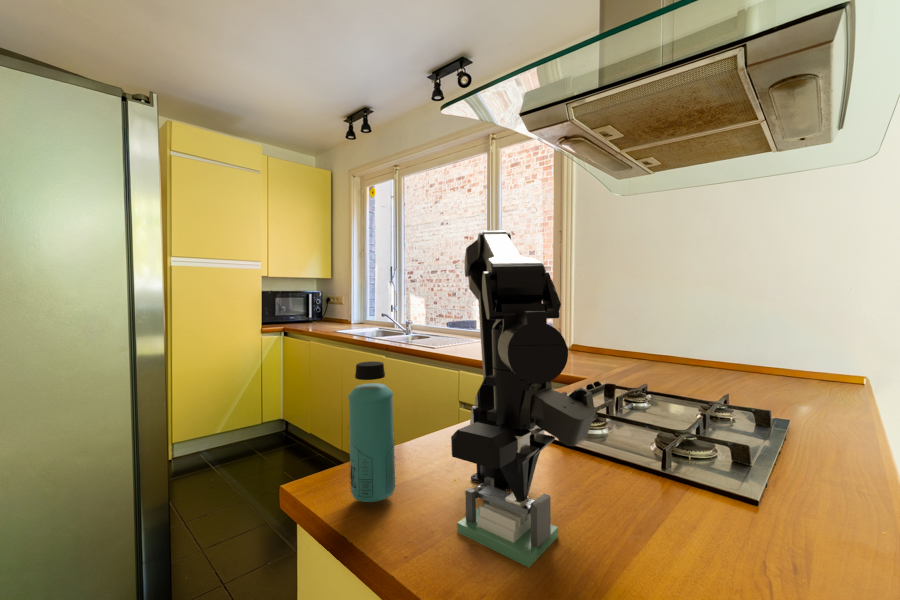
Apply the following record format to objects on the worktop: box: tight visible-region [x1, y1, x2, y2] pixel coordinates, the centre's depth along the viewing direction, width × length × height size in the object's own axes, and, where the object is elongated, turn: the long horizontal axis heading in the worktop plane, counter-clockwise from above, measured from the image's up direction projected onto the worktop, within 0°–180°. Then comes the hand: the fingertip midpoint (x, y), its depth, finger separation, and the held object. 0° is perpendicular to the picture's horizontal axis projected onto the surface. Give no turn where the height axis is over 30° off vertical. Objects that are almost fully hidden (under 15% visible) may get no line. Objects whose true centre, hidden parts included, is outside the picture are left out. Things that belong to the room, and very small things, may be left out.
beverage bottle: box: [347, 361, 397, 503], centre depth 57 cm, size 6×7×20 cm
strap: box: [473, 482, 536, 515], centre depth 49 cm, size 8×2×1 cm, turn 49°
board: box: [456, 477, 559, 568], centre depth 49 cm, size 10×7×6 cm
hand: (521, 499), depth 47 cm, fingers closed, pressing on strap
